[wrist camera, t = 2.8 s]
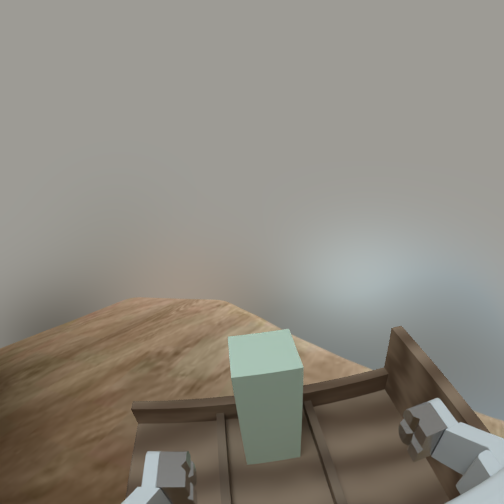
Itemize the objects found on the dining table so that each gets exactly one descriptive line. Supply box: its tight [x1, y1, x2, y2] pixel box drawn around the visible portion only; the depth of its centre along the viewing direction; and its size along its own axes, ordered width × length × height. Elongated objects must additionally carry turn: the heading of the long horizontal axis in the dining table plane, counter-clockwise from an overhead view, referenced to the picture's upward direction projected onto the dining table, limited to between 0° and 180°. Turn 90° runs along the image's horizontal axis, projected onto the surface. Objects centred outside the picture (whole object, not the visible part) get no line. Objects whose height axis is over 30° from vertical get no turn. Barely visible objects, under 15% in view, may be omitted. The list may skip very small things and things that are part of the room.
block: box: [228, 329, 303, 465], centre depth 25 cm, size 5×5×12 cm
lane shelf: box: [126, 326, 491, 504], centre depth 22 cm, size 19×29×10 cm, turn 96°
